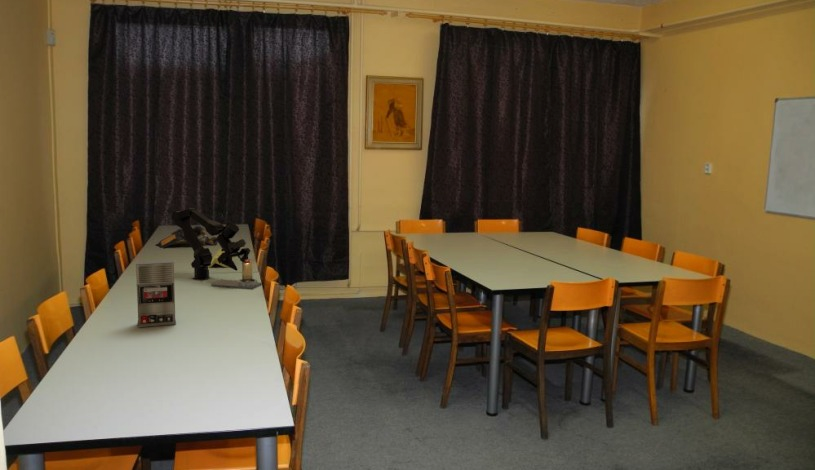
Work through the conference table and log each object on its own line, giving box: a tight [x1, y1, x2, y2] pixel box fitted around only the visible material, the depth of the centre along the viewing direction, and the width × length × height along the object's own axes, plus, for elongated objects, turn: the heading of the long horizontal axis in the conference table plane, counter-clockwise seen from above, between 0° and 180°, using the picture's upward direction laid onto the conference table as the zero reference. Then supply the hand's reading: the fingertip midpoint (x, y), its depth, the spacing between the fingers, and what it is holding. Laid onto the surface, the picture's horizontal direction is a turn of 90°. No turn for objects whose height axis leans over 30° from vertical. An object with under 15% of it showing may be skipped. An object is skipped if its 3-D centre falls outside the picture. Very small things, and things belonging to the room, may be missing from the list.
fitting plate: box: [210, 278, 263, 291], centre depth 316 cm, size 22×11×3 cm, turn 78°
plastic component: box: [208, 248, 234, 269], centre depth 365 cm, size 20×7×10 cm
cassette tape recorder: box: [135, 259, 177, 328], centre depth 248 cm, size 14×6×25 cm, turn 114°
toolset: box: [155, 225, 218, 249], centre depth 426 cm, size 40×20×27 cm
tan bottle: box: [241, 258, 254, 282], centre depth 314 cm, size 5×5×12 cm
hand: (243, 268), depth 315 cm, fingers open, 9 cm apart
